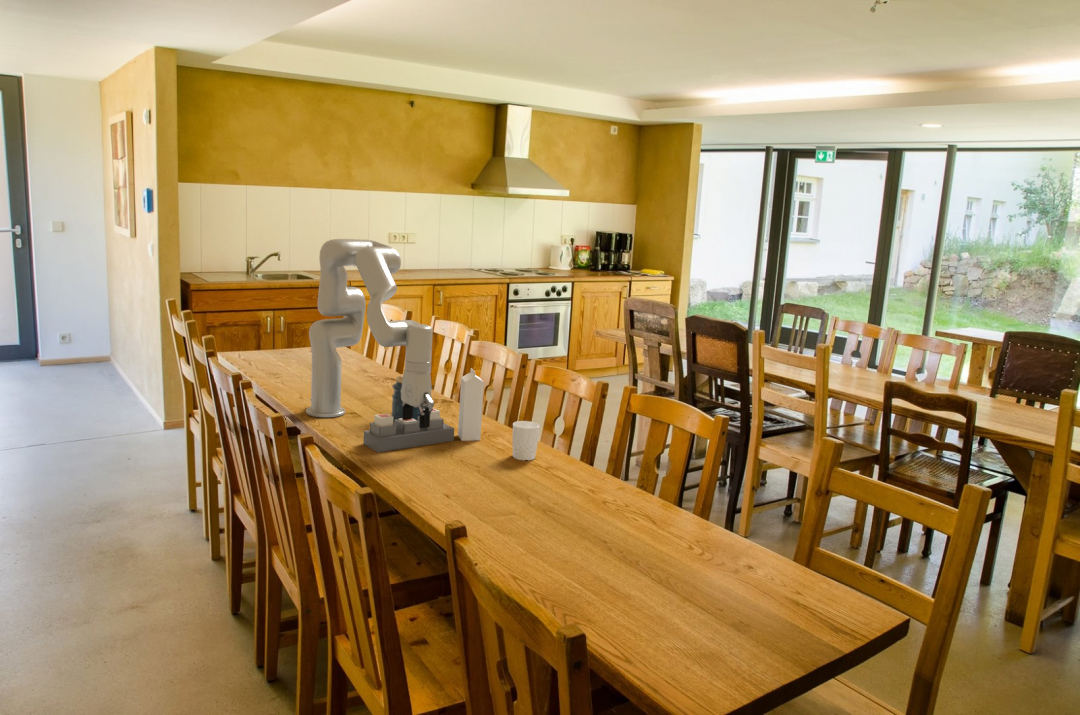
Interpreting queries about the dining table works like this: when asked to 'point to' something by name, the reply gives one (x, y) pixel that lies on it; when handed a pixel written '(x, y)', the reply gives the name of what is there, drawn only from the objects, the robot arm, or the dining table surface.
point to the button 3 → (435, 414)
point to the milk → (470, 407)
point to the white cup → (525, 440)
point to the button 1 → (383, 420)
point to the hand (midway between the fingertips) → (415, 423)
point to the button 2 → (407, 421)
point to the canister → (397, 402)
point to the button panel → (407, 435)
